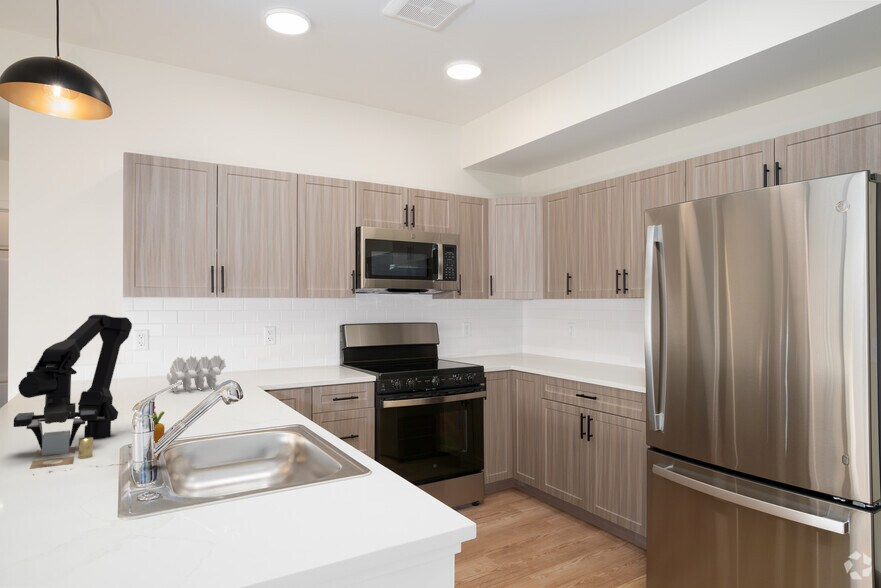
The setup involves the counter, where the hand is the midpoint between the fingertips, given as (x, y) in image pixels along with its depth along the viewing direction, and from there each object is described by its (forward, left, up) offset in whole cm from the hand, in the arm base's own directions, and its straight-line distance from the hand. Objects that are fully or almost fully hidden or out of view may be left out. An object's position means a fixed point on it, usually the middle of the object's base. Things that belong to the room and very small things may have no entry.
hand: (56, 447), depth 148 cm
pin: (-7, +10, -2) cm, 12 cm away
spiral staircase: (-50, -106, -2) cm, 117 cm away
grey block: (0, 0, -1) cm, 1 cm away
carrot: (-22, +26, -2) cm, 34 cm away
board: (0, 0, -2) cm, 2 cm away
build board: (0, +12, -2) cm, 12 cm away
